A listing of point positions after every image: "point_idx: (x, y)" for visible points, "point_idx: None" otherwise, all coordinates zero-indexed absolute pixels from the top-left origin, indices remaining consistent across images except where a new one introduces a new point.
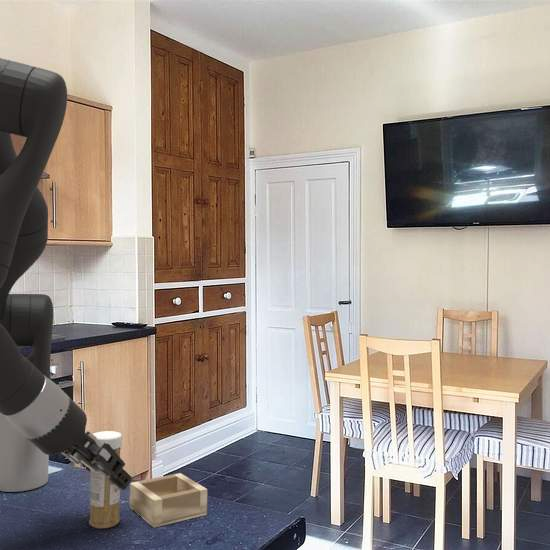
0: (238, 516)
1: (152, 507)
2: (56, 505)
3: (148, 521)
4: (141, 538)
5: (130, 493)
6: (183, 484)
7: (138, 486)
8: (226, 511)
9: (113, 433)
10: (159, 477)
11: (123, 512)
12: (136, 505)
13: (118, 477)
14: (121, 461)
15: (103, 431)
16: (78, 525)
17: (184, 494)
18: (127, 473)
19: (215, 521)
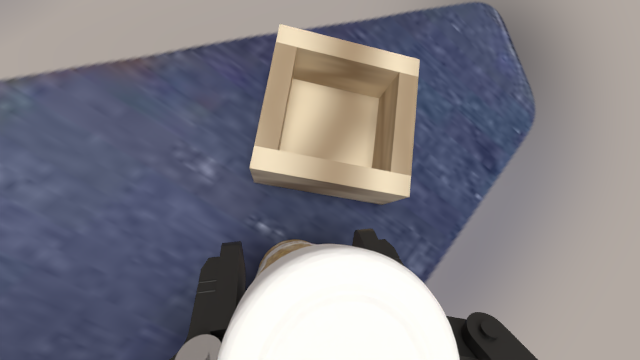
0: (432, 58)
1: (389, 197)
2: (89, 320)
3: (357, 199)
4: (408, 252)
5: (257, 175)
6: (331, 62)
7: (292, 166)
8: None
9: (365, 318)
10: (269, 82)
11: (267, 206)
12: (296, 186)
13: None
14: (527, 356)
15: (244, 357)
16: None
17: (414, 117)
18: (381, 247)
19: (426, 101)
